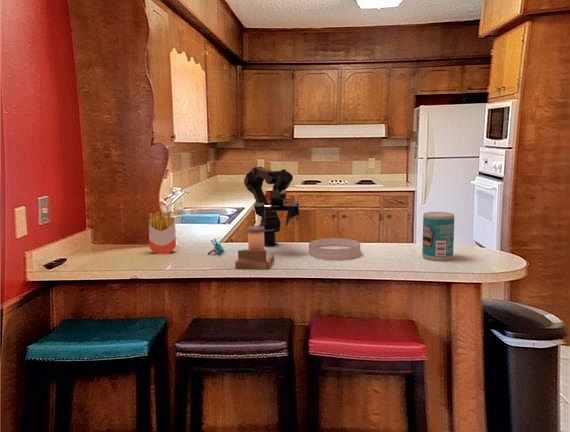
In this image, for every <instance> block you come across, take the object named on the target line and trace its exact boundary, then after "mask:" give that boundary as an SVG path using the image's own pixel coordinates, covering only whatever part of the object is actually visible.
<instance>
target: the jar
mask: <svg viewBox="0 0 570 432" xmlns="http://www.w3.org/2000/svg"><path fill="white" fill-rule="evenodd" d="M246 228H247V240H248V242H247V243H248V244H247V245H248V247H247V248H248V250H266V249H265V246H264V231H265V228H264V226H259V225H249V226H247V227H246Z"/></svg>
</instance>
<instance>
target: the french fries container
mask: <svg viewBox="0 0 570 432" xmlns="http://www.w3.org/2000/svg"><path fill="white" fill-rule="evenodd" d="M148 237H149V238H148V241H149V245H148V246H149V249H150V250H151V251H152V252H153V253H154V254H156V255H163V254H166V255H167V254H170V253H171V252H172V251H173V250H174V249H175V248H176V247H177V235H176V218H174V216H171V212H170V211H163V214H161V215H160V211H157V212H156V214H153V213H152V212H151V213H149V219H148Z"/></svg>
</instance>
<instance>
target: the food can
mask: <svg viewBox="0 0 570 432" xmlns="http://www.w3.org/2000/svg"><path fill="white" fill-rule="evenodd" d="M422 216H423V218H422V252H421V254H422V255H421V256H422V258H423V259H424V260H427V261H431V262H432V261H433V262H447V261H451V260H453V258H454V241H455V240H454V239H455V238H454V237H455V214H454V213H451V212H446V211H445V212H444V211H429V212H427V211H426V212H424V213H423V215H422Z"/></svg>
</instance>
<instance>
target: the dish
mask: <svg viewBox="0 0 570 432" xmlns="http://www.w3.org/2000/svg"><path fill="white" fill-rule="evenodd" d="M361 251H362V250H361V242H360V241H358V240H355V239H349V238H341V237H340V238H338V237H337V238H336V237H333V238H332V237H329V238H319V239H315V240H312V241H309V243H308V255H310V256H311V258H312V257H314V258H313V259H315V258H317V259H316V260H320V259H322V261H333V260H334V261H348V260H354V259H357V258H359V257H361V254H362V252H361ZM310 256H309V257H310Z"/></svg>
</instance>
